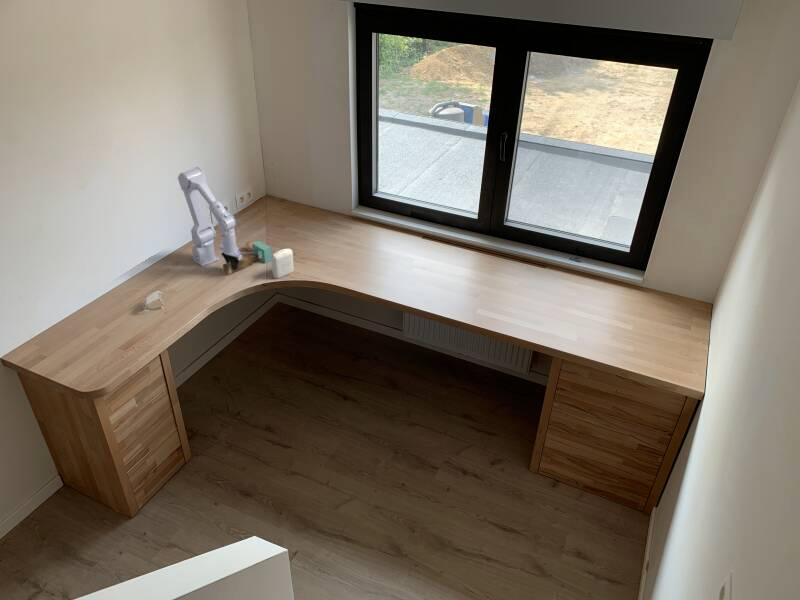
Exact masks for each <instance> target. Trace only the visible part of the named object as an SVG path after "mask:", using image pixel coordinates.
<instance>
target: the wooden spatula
mask: <svg viewBox="0 0 800 600" xmlns="http://www.w3.org/2000/svg"><path fill="white" fill-rule="evenodd" d="M259 260H260V256H259V255H257V254H255V255H249V254H246V255H244V256H242V259H241V260H239V263H238V268H237V269H236V270H233V269H232V265H231V262H229V263H226V262H225V263H223V264H222V269H223V274H225V275H227V276H228V275H230V274H231V275H232V273H236V272H239V271H240V270H242V269H246V268H248V267H250V266H253V265H254V262H257V261H259Z"/></svg>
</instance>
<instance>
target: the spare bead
mask: <svg viewBox="0 0 800 600" xmlns="http://www.w3.org/2000/svg"><path fill="white" fill-rule="evenodd" d="M254 242H255V241H248V242H246V244H245V245H246V246H245V247H246V252H248V253H253V248H252V243H254Z"/></svg>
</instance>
